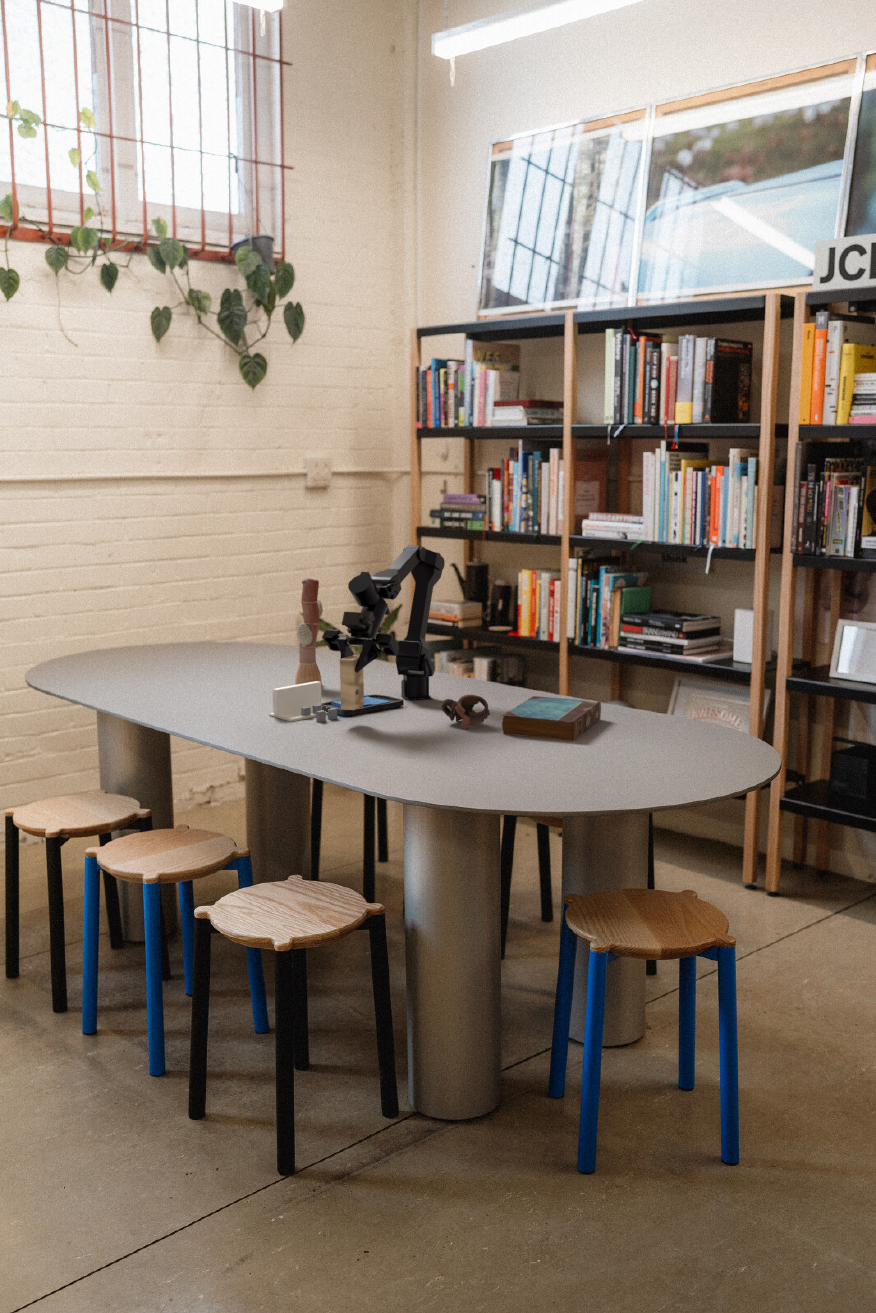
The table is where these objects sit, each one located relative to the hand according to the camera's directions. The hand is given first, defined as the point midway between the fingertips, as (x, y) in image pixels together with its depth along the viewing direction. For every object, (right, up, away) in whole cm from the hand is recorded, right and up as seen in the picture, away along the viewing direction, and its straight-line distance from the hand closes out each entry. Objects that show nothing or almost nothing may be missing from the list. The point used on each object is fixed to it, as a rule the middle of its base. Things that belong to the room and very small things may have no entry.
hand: (348, 671), depth 280 cm
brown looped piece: (+28, -13, +3) cm, 31 cm away
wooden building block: (+1, -9, +3) cm, 9 cm away
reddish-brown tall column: (-14, -5, +51) cm, 53 cm away
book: (+48, -14, +1) cm, 50 cm away
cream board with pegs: (-11, -11, +13) cm, 20 cm away
